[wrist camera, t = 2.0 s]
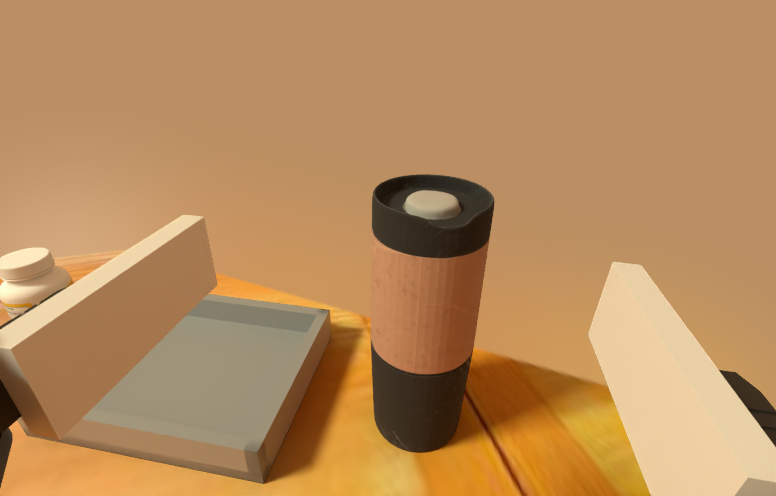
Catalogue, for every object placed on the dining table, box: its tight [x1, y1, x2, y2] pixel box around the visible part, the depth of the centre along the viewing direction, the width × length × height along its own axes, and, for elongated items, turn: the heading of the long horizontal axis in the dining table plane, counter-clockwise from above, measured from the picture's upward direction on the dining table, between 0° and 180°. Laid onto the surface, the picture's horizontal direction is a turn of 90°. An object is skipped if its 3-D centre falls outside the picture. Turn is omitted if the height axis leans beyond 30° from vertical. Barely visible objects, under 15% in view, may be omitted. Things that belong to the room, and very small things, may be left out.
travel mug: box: [371, 175, 494, 452], centre depth 29 cm, size 8×8×20 cm
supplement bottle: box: [0, 248, 74, 319], centre depth 39 cm, size 5×5×10 cm
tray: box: [18, 294, 331, 484], centre depth 36 cm, size 20×16×4 cm
